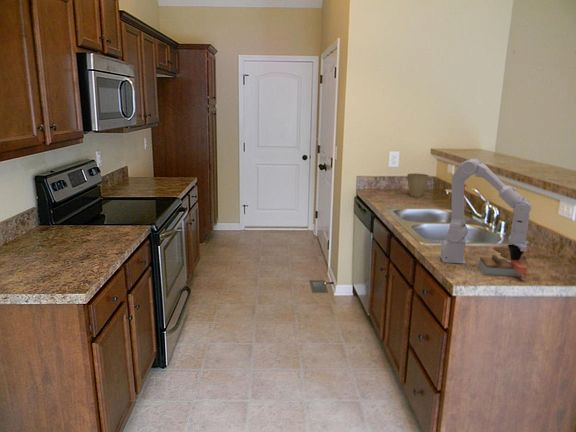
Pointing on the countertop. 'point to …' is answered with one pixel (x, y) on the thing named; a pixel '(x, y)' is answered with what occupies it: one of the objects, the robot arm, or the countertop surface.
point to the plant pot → (417, 183)
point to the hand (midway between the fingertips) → (514, 263)
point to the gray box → (497, 270)
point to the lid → (496, 262)
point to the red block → (519, 267)
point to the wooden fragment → (506, 253)
